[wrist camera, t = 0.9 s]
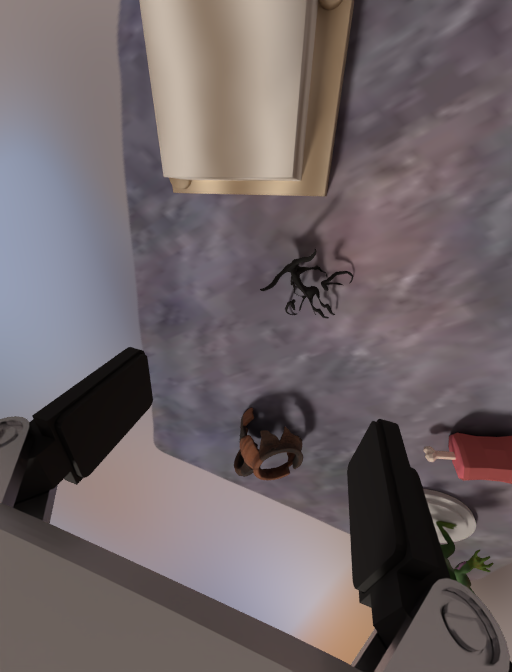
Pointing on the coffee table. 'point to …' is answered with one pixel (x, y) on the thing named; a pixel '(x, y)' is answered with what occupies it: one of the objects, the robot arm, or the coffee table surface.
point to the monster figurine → (454, 532)
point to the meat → (477, 457)
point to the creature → (307, 291)
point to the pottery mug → (266, 452)
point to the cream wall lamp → (247, 92)
